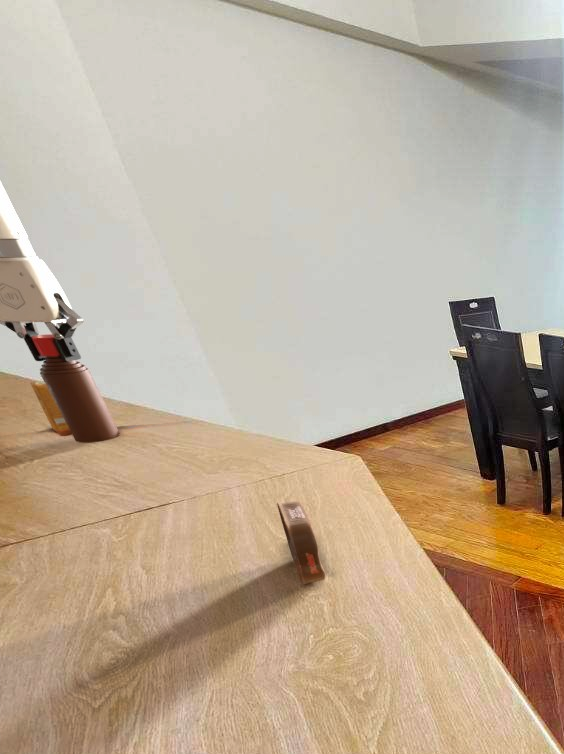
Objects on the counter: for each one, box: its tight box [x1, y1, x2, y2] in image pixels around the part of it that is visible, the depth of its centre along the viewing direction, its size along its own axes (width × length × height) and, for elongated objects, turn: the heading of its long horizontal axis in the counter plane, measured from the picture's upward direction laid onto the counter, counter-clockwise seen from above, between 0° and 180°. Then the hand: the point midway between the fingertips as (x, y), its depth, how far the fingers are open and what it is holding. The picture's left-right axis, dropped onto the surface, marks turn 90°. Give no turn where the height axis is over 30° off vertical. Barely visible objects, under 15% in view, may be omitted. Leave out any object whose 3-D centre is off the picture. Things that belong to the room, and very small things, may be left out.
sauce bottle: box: [39, 356, 121, 443], centre depth 113 cm, size 6×6×19 cm
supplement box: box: [30, 381, 72, 437], centre depth 116 cm, size 3×3×10 cm
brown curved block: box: [276, 500, 327, 586], centre depth 77 cm, size 15×3×8 cm, turn 40°
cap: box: [31, 333, 60, 356], centre depth 109 cm, size 4×4×3 cm
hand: (58, 358), depth 110 cm, fingers closed on cap, 3 cm apart
